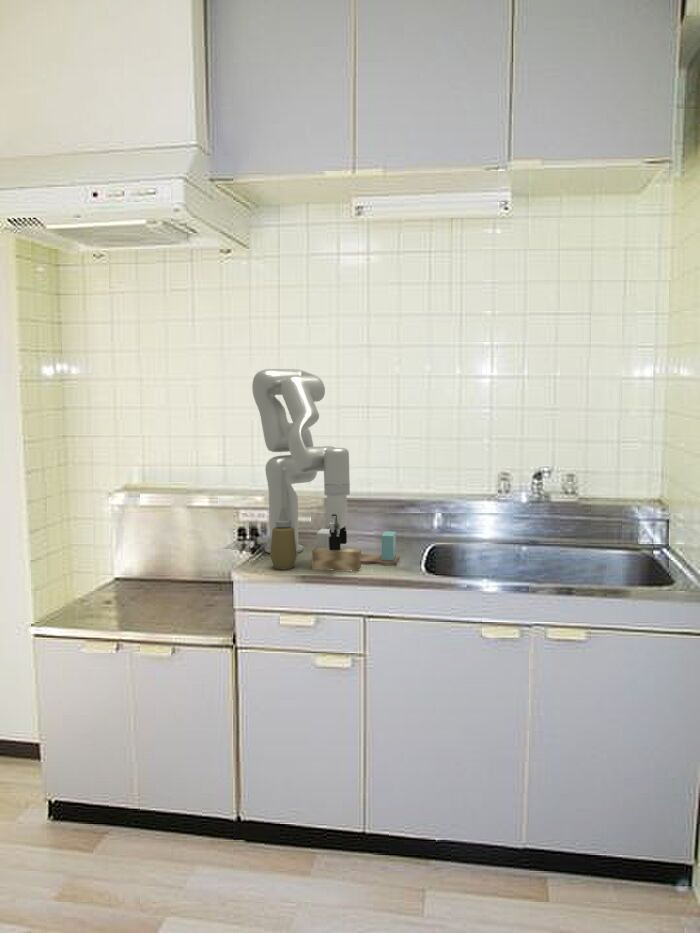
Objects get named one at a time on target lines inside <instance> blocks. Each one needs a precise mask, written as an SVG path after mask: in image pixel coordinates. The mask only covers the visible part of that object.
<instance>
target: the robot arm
mask: <svg viewBox="0 0 700 933" xmlns="http://www.w3.org/2000/svg"><path fill="white" fill-rule="evenodd" d="M251 390H252V395H253V399H254V401H255V404H256V406H257V410H258V412H259V416H260V420H261V421H260V422H261V428H262V433H263V439H264V443H265V446H266V448H267V450H268V451H269V452H272V453H287V452H289V453H290V454H284V455H275V456H273V457H271V458H269V459H268V460H267V462H266V464H265V467H264V468H265V469H264V471H265V475H266V476H265V477H266V481H267V487H268V517H269V518H268V519H269V520H268V525H269V527H268V528H269V531H268V532H269V536H266V537H262V536H261V537H260V536H258V537H257V538H256V539H257V543H258V544H259V545H266V546H265V547H264V551H265V552H266V553H268V554H270V552H271V540H272V530H273V528H275V527H276V526H275V521H276V520H279V517H280V512H281V509H282V508H285V511H286V515H287V520H291V526H290V527H292V528H293V529H294V533H295V542H296V552H297V554H298V553H301V552H302V551H303V550H304V546H303V545H301V544H299V498H298V497H299V496H298V494H297V492H296V491H295V489H294V488H293V486H292V485H294V484H303V483H310V482H312V481H314V480H315V479H316V477H317V475H318V472H323V483H324V484H323V489H324V495H325V496H326V501H325V502H326V503H325V529H330V530H329V549H330V550H340V549H342V548H341V545H346V544H348V540H347V539H348V538H347V536H348V535H347V534H348V533H347V524H348V498H347V496H349V495H351V490H350V487H351V486H350V484H351V483H350V454H349V452H350V451H349V450H348V448H346V447H334V446H331V445H325V446H324V445H323V446H314V442H313V438H312V437H313V436H312V432H311V430H310V429H309V428H311V427H312V426H314V425H315V424H316V423H317V422H318V420H319V419H320V412H319V410H318V409H317V406H316V404H315V403H317V402H320V401H322V400H323V399H324V397H325V394H326V387H325V384H324V382H323V380H322V379H321V378H320V377H319V376H318V375H315V374H313V373H310V372H308V371H305V370H302V369H295V368H294V369H293V368H291V369H290V368H285V369H284V368H268V369H262V370H260V371H258V372H256V373H255V375H254V377H253V379H252V388H251ZM276 396H282V398H283V401H284V403H285V406H286V408H287V411H288V413H289V415H290V418H291V420H292V422H289V420H288V418H287V417H288V416H287V411H286V409H285V407H284V405H283V403H282V402H281V401H280V400H279V398H277V397H276Z"/></svg>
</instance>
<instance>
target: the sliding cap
mask: <svg viewBox="0 0 700 933" xmlns="http://www.w3.org/2000/svg"><path fill="white" fill-rule="evenodd" d="M381 555H382V560H391V561H393V560H394V558H395V556H397V532H396V531H391V530H390V531H387V530H385V531H384V532H383V533H382V535H381Z"/></svg>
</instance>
